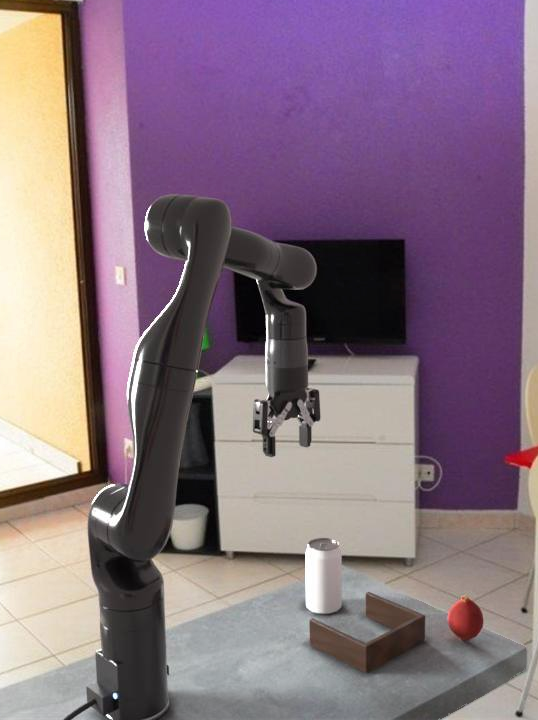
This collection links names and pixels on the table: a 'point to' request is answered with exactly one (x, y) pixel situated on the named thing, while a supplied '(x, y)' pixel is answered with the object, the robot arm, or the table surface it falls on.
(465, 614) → the onion
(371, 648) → the frame
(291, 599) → the table surface
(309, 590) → the can
